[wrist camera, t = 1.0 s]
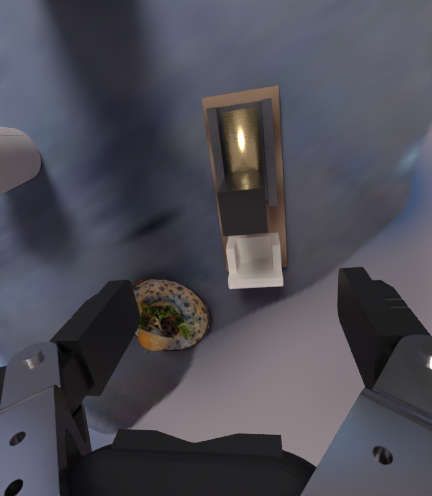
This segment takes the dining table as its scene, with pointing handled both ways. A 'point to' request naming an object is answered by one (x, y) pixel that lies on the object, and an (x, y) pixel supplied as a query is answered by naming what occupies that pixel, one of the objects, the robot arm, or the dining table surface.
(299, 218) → the dining table surface
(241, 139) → the dark grey block
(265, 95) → the base board
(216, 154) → the outer sleeve
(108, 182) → the dining table surface
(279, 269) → the far socket
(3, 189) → the dixie cup
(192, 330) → the burger
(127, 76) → the dining table surface
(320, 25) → the dining table surface
